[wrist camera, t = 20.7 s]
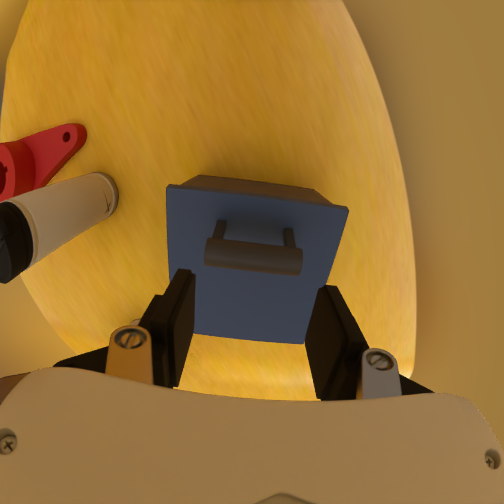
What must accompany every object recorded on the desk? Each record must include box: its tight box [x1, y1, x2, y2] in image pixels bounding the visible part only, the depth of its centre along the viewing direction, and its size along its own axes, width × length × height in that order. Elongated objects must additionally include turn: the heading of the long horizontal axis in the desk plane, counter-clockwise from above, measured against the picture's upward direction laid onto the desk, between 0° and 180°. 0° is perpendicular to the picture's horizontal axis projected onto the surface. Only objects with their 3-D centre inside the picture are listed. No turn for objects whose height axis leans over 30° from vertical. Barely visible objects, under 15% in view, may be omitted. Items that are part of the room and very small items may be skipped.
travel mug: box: [0, 172, 118, 284], centre depth 23 cm, size 6×7×20 cm
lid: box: [166, 184, 349, 344], centre depth 22 cm, size 15×14×6 cm
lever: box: [0, 124, 87, 203], centre depth 27 cm, size 18×9×7 cm, turn 105°
